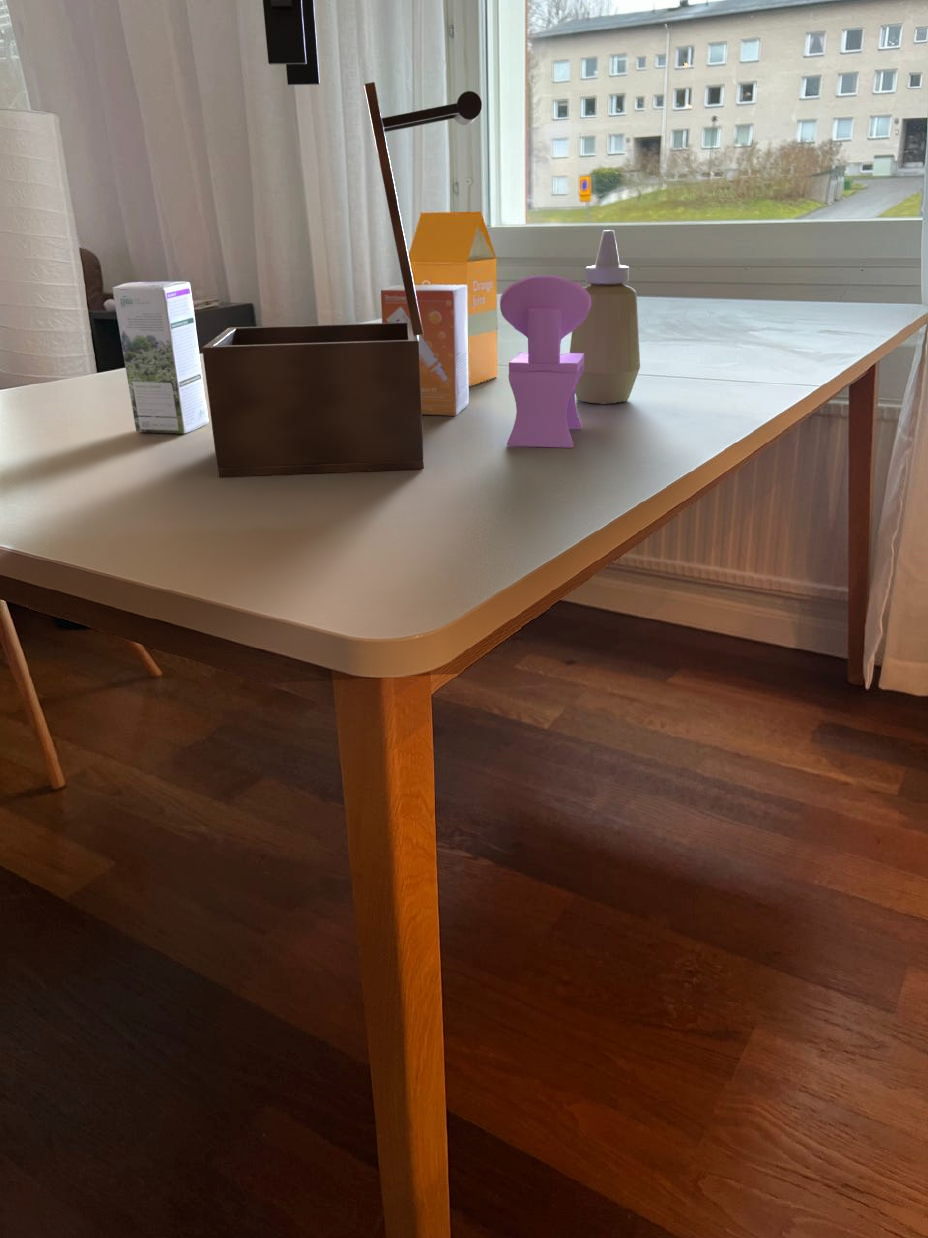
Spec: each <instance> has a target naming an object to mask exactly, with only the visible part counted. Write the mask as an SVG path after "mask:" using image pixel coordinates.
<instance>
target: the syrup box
mask: <svg viewBox="0 0 928 1238" xmlns="http://www.w3.org/2000/svg"><path fill="white" fill-rule="evenodd" d="M111 288H112V294H113V300H114V306H115V312H116V318H117V319H116V320H117V324H118V330H119V336H120V342H121V348H122V355H123V360H124V361H123V362H124V366H125V372H126V378H127V386H128V391H129V396H130V402H131V403H130V404H131V407H132V414H133V421H134V428H135V432H137V433H153V434H182V435H183V434H188V433H190V432H193V431H195V430H198V429H199V428H201V427H204V426H205V425H207V424H209V421H210V420H209V412H208V406H207V399H206V394H205V387H204V380H203V372H202V365H201V357H200V349H199V341H198V334H197V326H196V325H197V323H196V316H195V309H194V300H193V294H192V288H191V283H190V281H132V282H126V283H122V284H119V285H116V286H112V287H111Z"/></svg>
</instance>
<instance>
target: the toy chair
mask: <svg viewBox="0 0 928 1238" xmlns="http://www.w3.org/2000/svg"><path fill="white" fill-rule="evenodd" d="M583 287H584V286H582V285H580V284H578V282H576V281H573V280H571V279H568V278H565V277H562V276H557V275H549V274H547V275H545V274H544V275H543V274H542V275H541V274H540V275H539V274H538V275H532V276H531V275H530V276H528V277H525V278H522V279H519V280H518V281H516V282H513V283H512V284H511V285H509V286H508V287H507V288H505V290H503V292H502V294H501V295H500V299H499V310H500V313H501V316H502V317H503V319H505V321H506V322H507V323H508V324H510V325H511V326H512V327H513V328H514V330H516V331H517V332H519V333H520V334H522V335H523V336H524V337H526V338H527V352H519V353H517V354H516V356H515V357H514V358H513V359H511V360H510V361H509V362H508V382H509V386H510V388H511V391H512V394H513V398H514V402H515V408H516V413H515V420H514V424H513V426H512V430H511V433H510V435H509V438H508V439H507V443H506V446H507V447H530V448H531V447H532V448H533V447H534V448H570V449H571V448H575V447H574V446H575V445H574V441H573V439H572V436H571V432H570V430H582V429H583V426H582V423H581V419H580V417H579V414H578V409H577V404H576V394H575V391H576V387H577V384H578V381H579V379H580V377H581V375H582V372H583V369H584V353H570V352H567V353H561V343H562V340H563V339H564V338H565V337H566V336H568V335H569V334H572V331H574V330H576V329H577V327H578V326H579V325H580V324H581V323H582V322H583V321H584V320H585V319H586V317H587V316H588V314H589V310H590V307H591V298H590V295H589V293H588V291H587V290H586V289H584V288H583Z"/></svg>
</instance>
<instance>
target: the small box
mask: <svg viewBox="0 0 928 1238" xmlns="http://www.w3.org/2000/svg"><path fill="white" fill-rule="evenodd" d="M414 288H415V294H416V299H417V304H418V309H419V314H420V319H421V325H422V330H423V334H421V335H418V340H419V360H420V385H421V410H422V415H426V416H427V415H430V416H448V417H456V416H458V415H459V414H460V413H461V412H462V411H463V410H464V409H466V408H467V407H468V405H469V399H470V395H469V394H470V393H469V388H470V387H469V385H468V320H467V285H414ZM380 304H381V305H380V306H381V308H380V309H381V323H397V322H411V320H410V314H409V309H408V304H407V299H406V294H405V289H404V284H395V285H391V286H387V287H386V288H382V289H381V290H380Z"/></svg>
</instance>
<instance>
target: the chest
mask: <svg viewBox="0 0 928 1238" xmlns="http://www.w3.org/2000/svg"><path fill="white" fill-rule="evenodd" d="M201 350H202V359H203V365H204V373H205V381H206V391H207V397H208V407H209V413H210V420H211V428H212V430H211V431H212V437H213V445H214V452H215V461H216V468H217V474H218V477H219V478H231V477H233V478H234V477H256V476H259V477H260V476H281V475H282V476H284V475H286V476H287V475H309V474H310V475H311V474H334V473H359V472H360V473H361V472H364V473H365V472H388V471H390V472H391V471H413V470H424V469H425V468H424V467H425V465H424V461H425V460H424V439H423V438H424V437H423V414H422V410H421V385H420V360H419V340H418V335H416V336H414V335H413V330H412V325H411V322H397V323H382V322H367V323H339V324H338V323H337V324H336V323H335V324H333V323H332V324H308V325H306V324H305V325H304V324H303V325H299V324H298V325H272V326H271V325H269V326H238V327H237V326H236V327H235V326H233V327H228V328H226V329H225V330H224V331H222V332H221V333H220V334H219V335H217V336H216V337H215V338H213V339H212V340H210V341H209V342H208V343H207V344H205V345H204V346H203V347H202V348H201Z"/></svg>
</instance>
